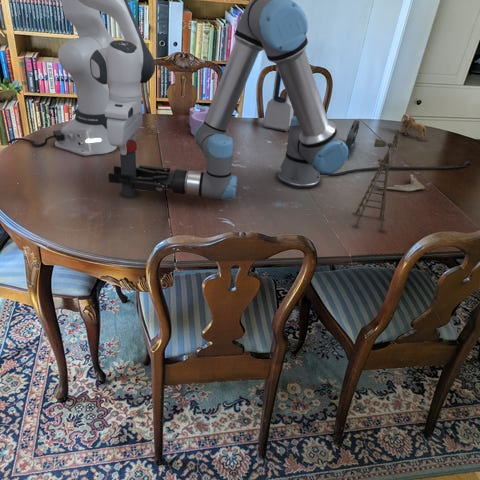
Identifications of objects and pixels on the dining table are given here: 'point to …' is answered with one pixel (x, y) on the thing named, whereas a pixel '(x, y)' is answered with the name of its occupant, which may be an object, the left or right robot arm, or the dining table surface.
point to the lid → (130, 146)
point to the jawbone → (414, 185)
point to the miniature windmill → (382, 163)
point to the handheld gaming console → (352, 136)
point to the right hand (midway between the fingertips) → (111, 174)
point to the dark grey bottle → (128, 172)
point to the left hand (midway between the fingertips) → (127, 149)
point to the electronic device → (278, 109)
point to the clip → (197, 118)
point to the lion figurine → (413, 126)
